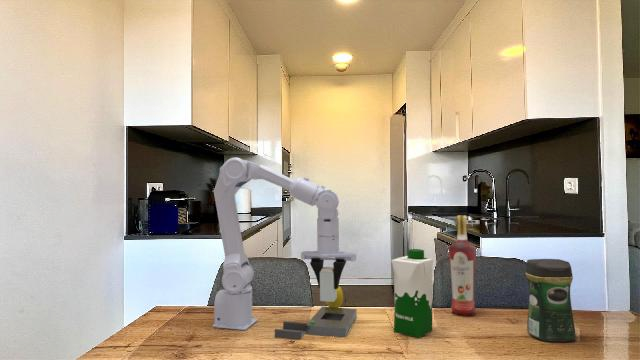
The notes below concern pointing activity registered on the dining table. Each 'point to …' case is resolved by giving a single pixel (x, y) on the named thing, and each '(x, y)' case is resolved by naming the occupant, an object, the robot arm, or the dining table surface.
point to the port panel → (331, 322)
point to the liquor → (462, 271)
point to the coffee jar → (550, 300)
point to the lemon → (338, 300)
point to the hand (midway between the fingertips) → (328, 287)
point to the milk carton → (413, 294)
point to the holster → (291, 330)
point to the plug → (327, 285)
